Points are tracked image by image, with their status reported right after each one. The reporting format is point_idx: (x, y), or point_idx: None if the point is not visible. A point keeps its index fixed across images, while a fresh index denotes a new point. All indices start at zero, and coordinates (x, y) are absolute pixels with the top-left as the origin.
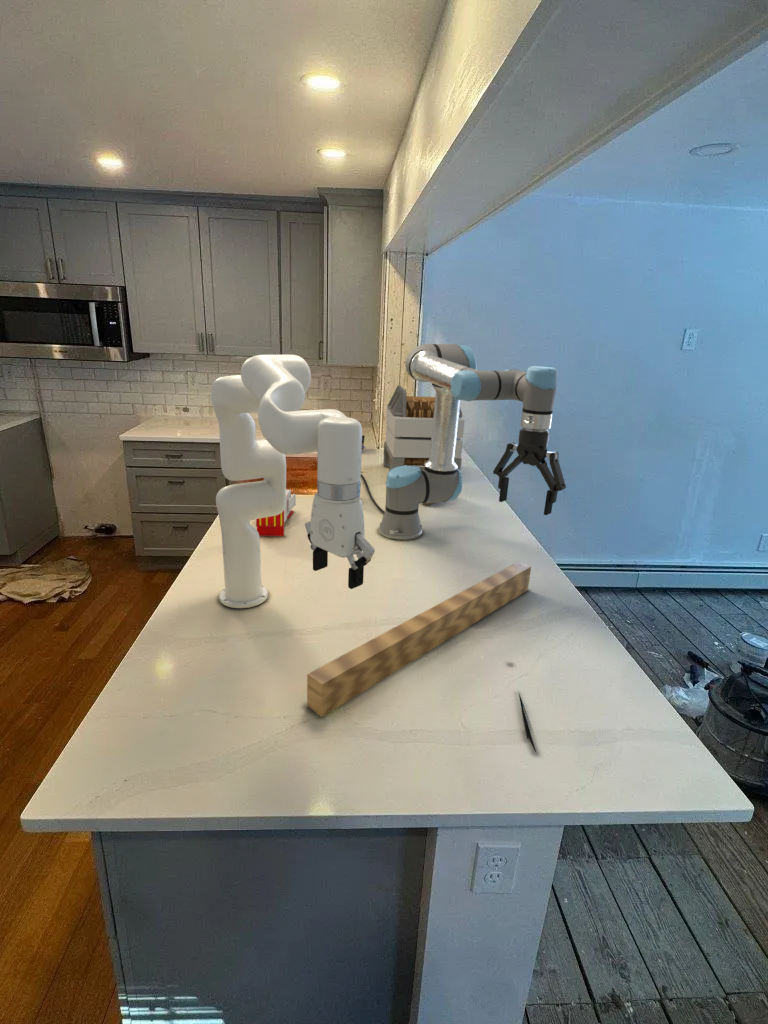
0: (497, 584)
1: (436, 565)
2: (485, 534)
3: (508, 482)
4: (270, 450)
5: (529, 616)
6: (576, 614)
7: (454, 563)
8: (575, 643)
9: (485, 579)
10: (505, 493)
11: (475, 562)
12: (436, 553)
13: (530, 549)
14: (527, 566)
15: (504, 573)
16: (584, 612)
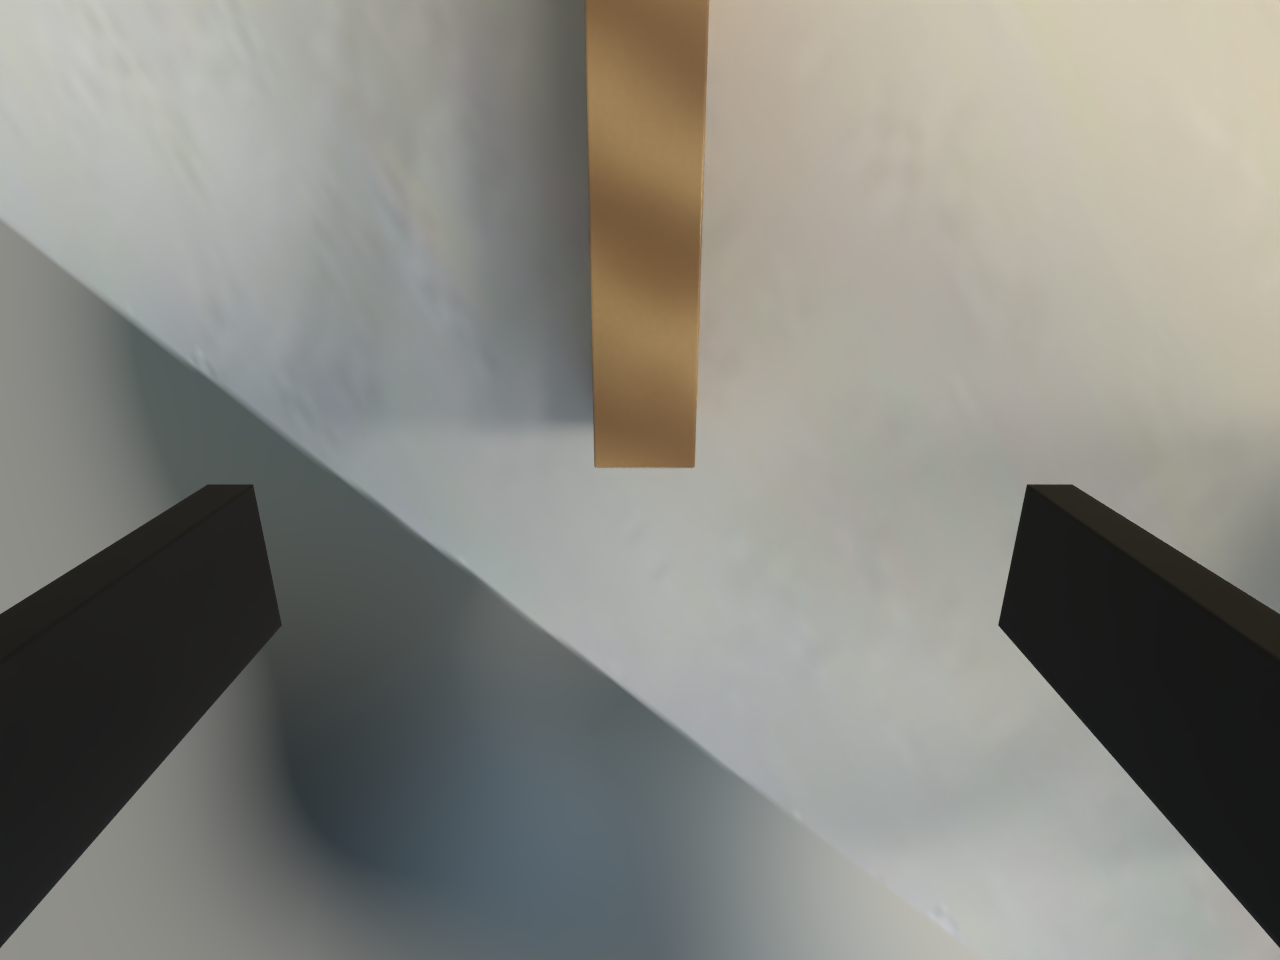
0: (596, 25)
1: (1157, 295)
2: (1096, 812)
3: (1217, 869)
4: None
5: (433, 161)
6: (299, 377)
7: (1077, 401)
8: (114, 86)
9: (703, 28)
10: (1079, 647)
11: (983, 499)
12: (1229, 433)
13: (830, 815)
14: (612, 452)
15: (659, 235)
16: (289, 426)
